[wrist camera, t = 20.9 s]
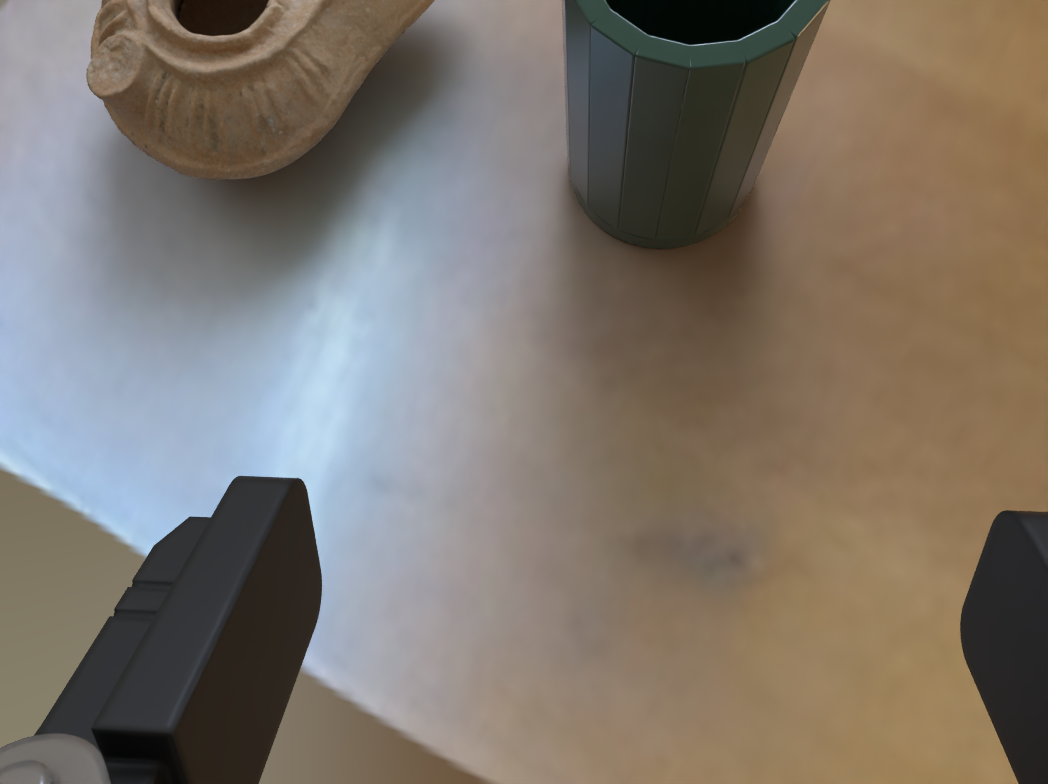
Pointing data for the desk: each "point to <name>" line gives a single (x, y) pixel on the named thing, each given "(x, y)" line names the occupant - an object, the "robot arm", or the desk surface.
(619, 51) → the pot
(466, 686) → the desk surface
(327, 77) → the pottery oil lamp
